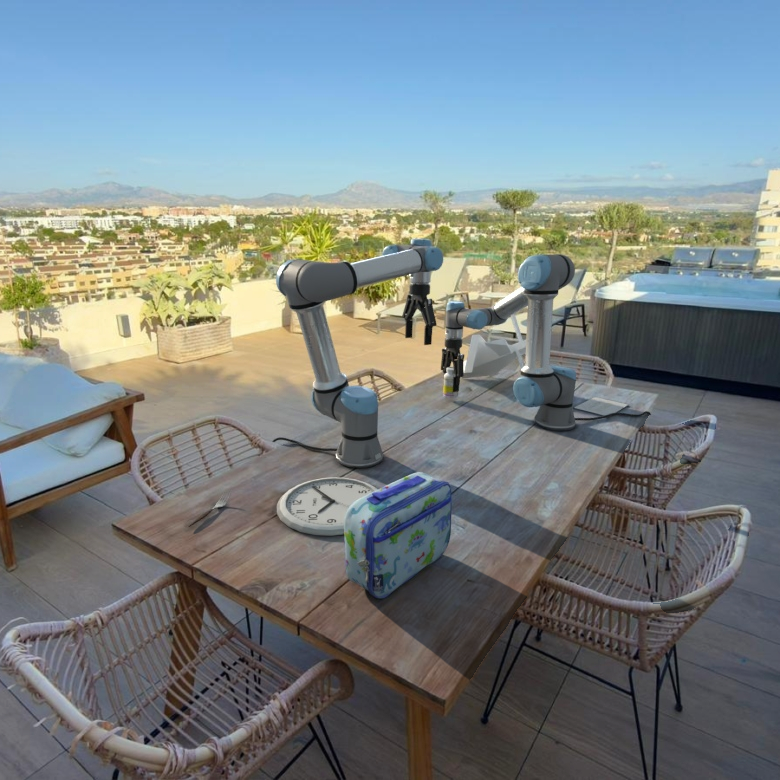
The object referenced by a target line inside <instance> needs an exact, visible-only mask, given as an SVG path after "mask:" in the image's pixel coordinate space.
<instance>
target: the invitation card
mask: <svg viewBox="0 0 780 780" xmlns="http://www.w3.org/2000/svg"><path fill="white" fill-rule="evenodd" d="M628 406H629V404H627V403H623V402H618V401H614V400H609V399H605V398H601V397H596V396H593V397H592V398H590V399H588V400H586V401H584V402H582V403H580V404H578V405H575V406H574V407H573V409H575V410H581V411H584V412H587V413H593V414H596V415H600V416H605V415H608V414H611V413H619V411H621V410H623V409H624V408H626V407H628Z"/></svg>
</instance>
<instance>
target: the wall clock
mask: <svg viewBox="0 0 780 780" xmlns="http://www.w3.org/2000/svg"><path fill="white" fill-rule="evenodd" d="M378 489H379V488H377V487H376V486H374V485H372V484H371V483H369V482H365V481H362V480H359V479H355V478H349V477H338V476H337V477H335V476H333V477H332V476H331V477H322V478H317V479H312V480H307V481H305V482H302V483H299V484H297V485H295V486H293V487H292V488H290V489H288V490H287V491H286V492H285V493H284V494H283V495H281V496H280V498H279V499H278V502H277V503H276V515H277V517H278V518H279V520H280V521H281V522H282V523H283V524H285V525H286V526H287V527H288V528H290V529H293V530H295V531H297V532H299V533H303V534H308V535H312V536H327V537H328V536H329V537H331V536H332V537H333V536H342V535H343V536H344V520H345V516H346V513H347V511H348V509H349V507H350V506H351V505H352V504H353V503H354V502H355V501H356V500H358V499H360V498H362V497H364V496H366V495H368V494H370V493H372V492H374V491H376V490H378Z"/></svg>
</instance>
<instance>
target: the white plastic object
mask: <svg viewBox="0 0 780 780" xmlns="http://www.w3.org/2000/svg"><path fill="white" fill-rule="evenodd" d="M515 314H516V313H515ZM515 314H513V315H511V316H510V319H511V322H512V325H513V329H514V331H515V335H516V338H517V341H518V342H515V343H513V344H509V343H508V341H507V340H506V338H504V337H503V338H499V339H495V340H494V339H493V340H491V341H487V340H485V338H484V337H483V336H482V335H481V334H471V339H470V342H469V347H468V352H467V357H466V360H464V376H463V377H461V379H469V378H470V379H472V378H480V377H489V378H491V377H494V376H497V375H500V373H499V372H500V371H502V370H504V369H505V368H506V367H507V366H509V365H510V364H511V363H513V362H514V361H516V360H517V361H518V363H519V367H520V369H521V368H522V367H524V366H525V360H524V357H523V355H526V338H525V339H523V336H522V333H521V329H520V325H519V323H518V321H517V317H516V315H515Z"/></svg>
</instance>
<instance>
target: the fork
mask: <svg viewBox="0 0 780 780" xmlns="http://www.w3.org/2000/svg"><path fill="white" fill-rule="evenodd" d="M231 495H232V493H229V492H225V491H224V492H223V494H222V495H221V497H220V498H219V500H218V501H217V502H216V504H215V505H214V506H213V507H212V508H211V509H209V510H207V511H205V512H204V513H202V514H201V515H199V516H198V517H197V518H196V519H195V520H194V521H192V522H191V523H190V524H189V525H188V528H190V527H192V526H193V525H195V524H196V523H198V522H200V521H202V520H203V519H204V518H206V517H207V516H209V514H210V513H212V512H213V511H214V510H215V509H218V508H223V507H225V506H226V504H227V503H228V501H229V500H230V497H231Z"/></svg>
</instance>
